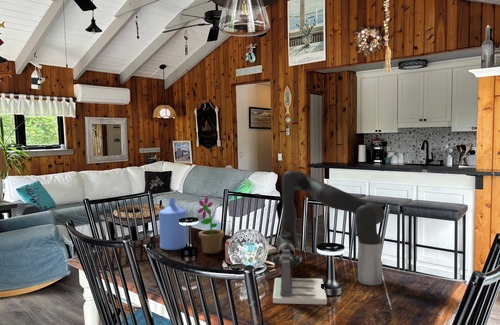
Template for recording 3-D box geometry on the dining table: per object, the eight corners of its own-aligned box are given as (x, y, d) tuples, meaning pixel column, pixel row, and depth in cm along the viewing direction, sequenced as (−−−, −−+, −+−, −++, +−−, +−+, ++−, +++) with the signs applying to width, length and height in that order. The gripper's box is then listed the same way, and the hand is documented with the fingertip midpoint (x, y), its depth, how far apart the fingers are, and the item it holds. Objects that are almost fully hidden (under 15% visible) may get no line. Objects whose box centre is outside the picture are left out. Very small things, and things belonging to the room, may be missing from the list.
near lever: (292, 291, 146) (291, 259, 145) (292, 295, 142) (291, 263, 141) (280, 291, 146) (280, 259, 145) (280, 295, 142) (279, 263, 141)
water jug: (184, 250, 211) (182, 200, 209) (156, 250, 211) (154, 201, 209) (189, 242, 226) (187, 196, 224) (163, 242, 227) (161, 196, 225)
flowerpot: (210, 245, 219) (209, 194, 217) (229, 249, 211) (228, 196, 209) (193, 251, 208) (191, 198, 205) (213, 256, 199) (211, 200, 197)
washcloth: (263, 257, 196) (263, 251, 196) (241, 250, 210) (241, 245, 209) (279, 252, 204) (279, 247, 204) (257, 246, 217) (257, 240, 217)
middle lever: (291, 284, 153) (291, 254, 152) (291, 288, 149) (291, 257, 148) (281, 284, 153) (280, 253, 152) (280, 287, 149) (280, 257, 148)
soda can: (237, 266, 182) (237, 242, 182) (223, 265, 184) (223, 241, 183) (241, 261, 189) (240, 238, 189) (227, 261, 191) (227, 237, 190)
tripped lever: (291, 277, 159) (291, 248, 159) (291, 281, 156) (291, 251, 155) (281, 277, 160) (280, 248, 159) (281, 281, 156) (280, 251, 155)
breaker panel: (322, 283, 159) (322, 278, 159) (326, 304, 139) (326, 298, 139) (275, 282, 161) (275, 277, 161) (272, 303, 142) (272, 297, 141)
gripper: (270, 244, 172) (268, 256, 155) (301, 244, 170) (303, 256, 153) (271, 260, 172) (269, 274, 155) (302, 260, 171) (303, 274, 154)
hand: (286, 265), depth 154 cm, fingers closed on tripped lever, 3 cm apart
